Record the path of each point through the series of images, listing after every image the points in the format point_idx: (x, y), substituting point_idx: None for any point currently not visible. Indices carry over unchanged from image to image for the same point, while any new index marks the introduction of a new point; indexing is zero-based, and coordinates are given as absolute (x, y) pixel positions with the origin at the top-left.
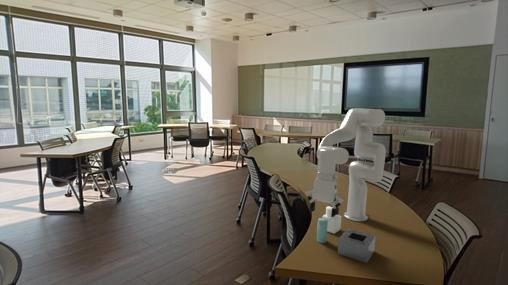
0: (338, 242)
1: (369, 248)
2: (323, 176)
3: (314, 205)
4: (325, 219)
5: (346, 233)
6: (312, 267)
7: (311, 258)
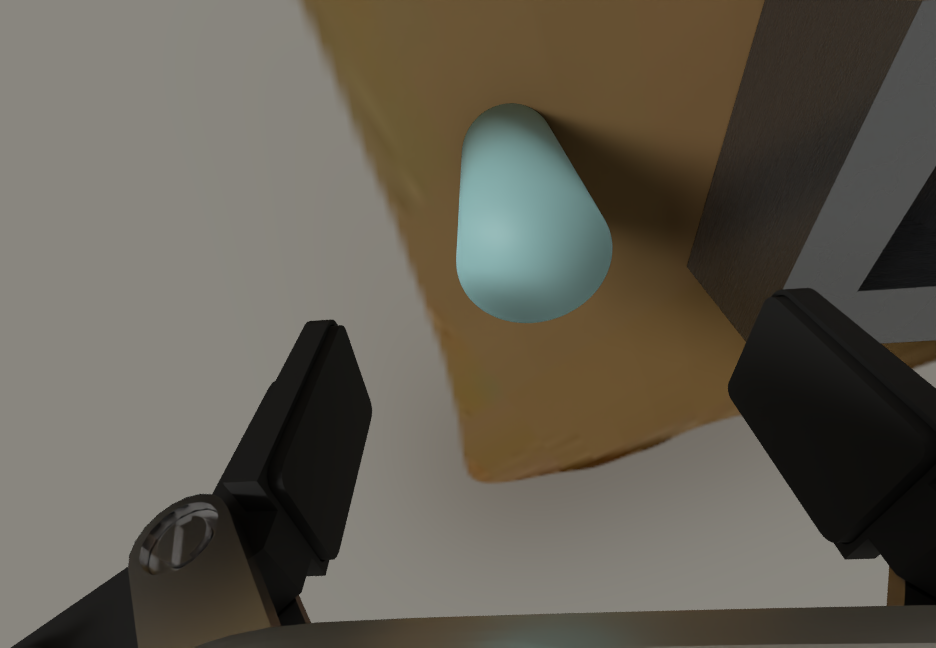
0: (730, 321)
1: None
2: None
3: (319, 437)
4: (560, 212)
5: (857, 207)
6: (585, 441)
7: (551, 394)
